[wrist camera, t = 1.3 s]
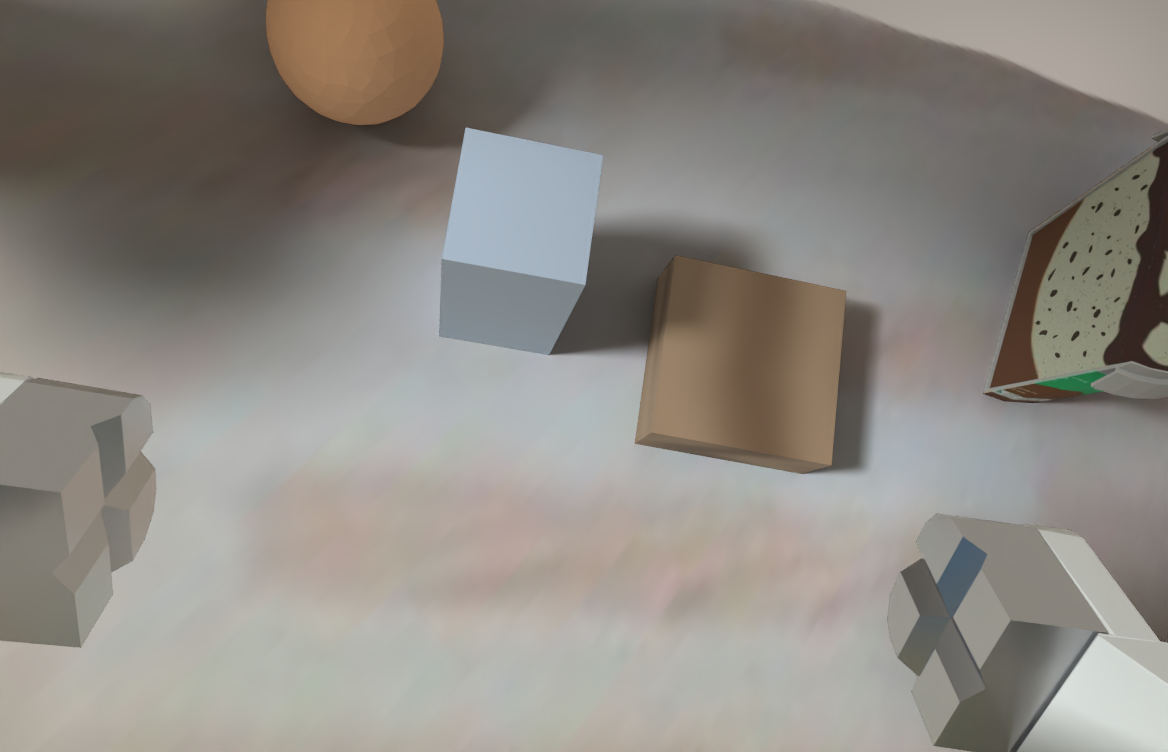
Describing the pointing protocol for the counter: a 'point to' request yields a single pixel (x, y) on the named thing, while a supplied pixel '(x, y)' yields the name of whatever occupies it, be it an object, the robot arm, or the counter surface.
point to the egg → (356, 54)
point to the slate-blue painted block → (517, 241)
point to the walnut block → (742, 367)
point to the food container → (1092, 294)
